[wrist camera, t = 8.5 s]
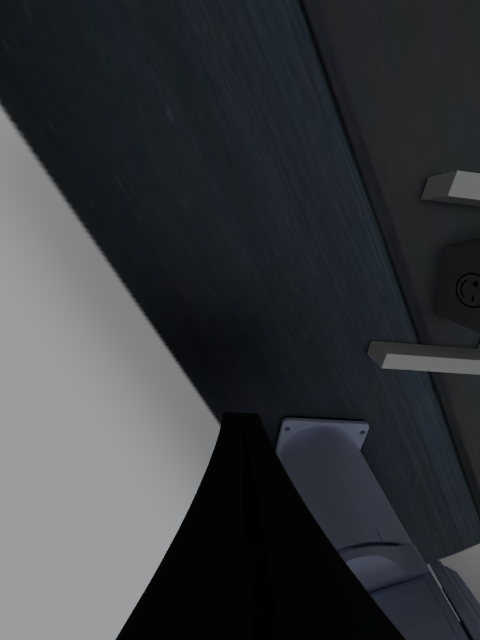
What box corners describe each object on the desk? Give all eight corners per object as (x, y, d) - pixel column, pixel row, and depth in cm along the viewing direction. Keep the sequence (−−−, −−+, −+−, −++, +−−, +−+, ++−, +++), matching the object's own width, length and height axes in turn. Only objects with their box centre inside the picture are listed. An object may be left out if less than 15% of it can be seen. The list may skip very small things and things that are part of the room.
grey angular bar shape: (483, 362, 20) (509, 376, 18) (366, 354, 19) (381, 368, 17) (577, 196, 15) (626, 193, 13) (428, 177, 14) (457, 170, 12)
